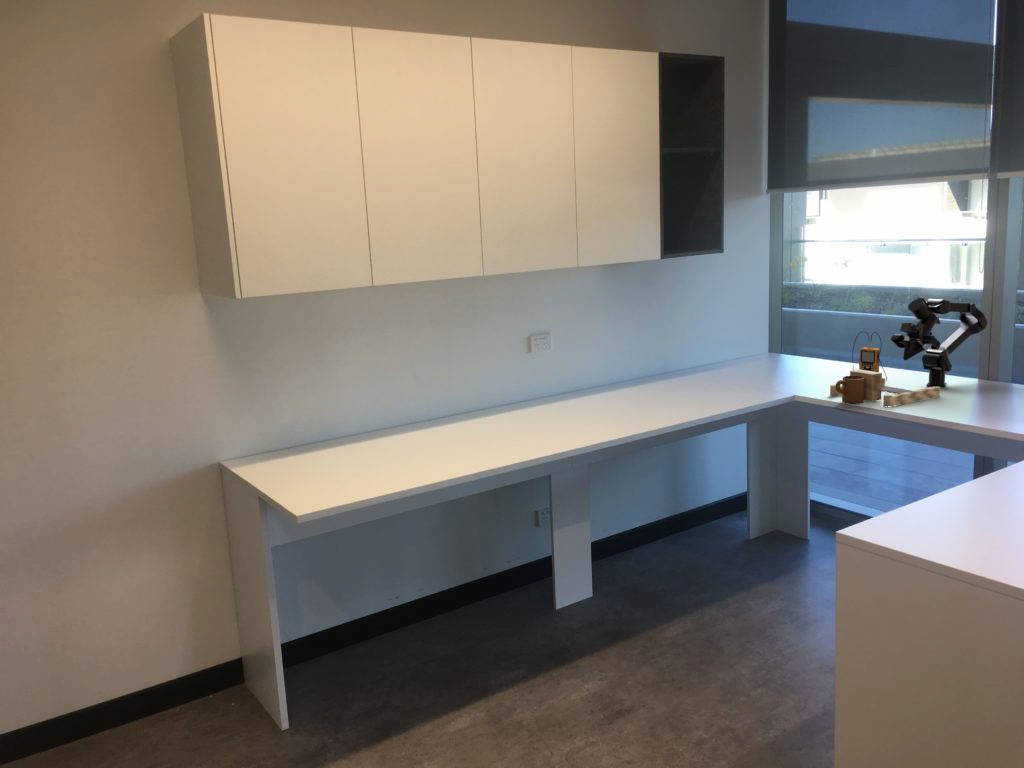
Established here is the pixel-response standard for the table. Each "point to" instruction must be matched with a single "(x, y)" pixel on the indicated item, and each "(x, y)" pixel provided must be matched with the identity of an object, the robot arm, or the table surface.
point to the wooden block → (870, 384)
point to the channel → (900, 395)
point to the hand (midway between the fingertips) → (904, 359)
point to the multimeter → (869, 357)
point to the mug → (851, 389)
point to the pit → (894, 390)
